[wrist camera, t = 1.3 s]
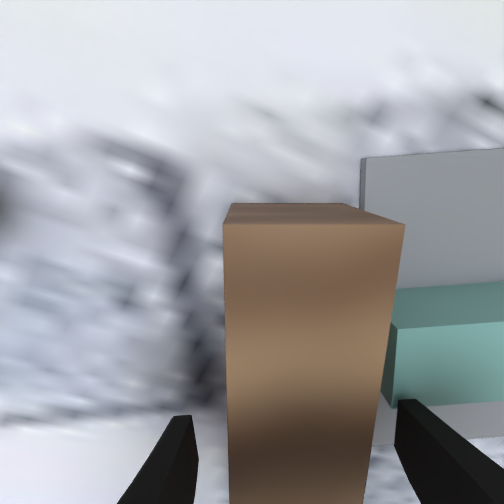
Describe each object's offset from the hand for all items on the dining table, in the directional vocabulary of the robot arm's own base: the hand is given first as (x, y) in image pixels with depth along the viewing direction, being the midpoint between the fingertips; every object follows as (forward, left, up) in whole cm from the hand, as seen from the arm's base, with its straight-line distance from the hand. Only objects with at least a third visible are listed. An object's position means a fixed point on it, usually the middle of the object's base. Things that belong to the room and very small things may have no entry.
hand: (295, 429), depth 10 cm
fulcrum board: (+2, -7, -4) cm, 9 cm away
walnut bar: (0, 0, -4) cm, 4 cm away
